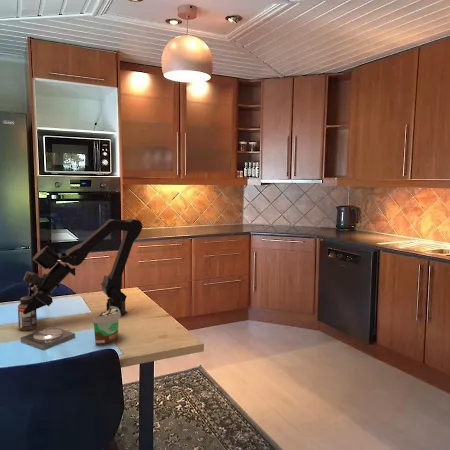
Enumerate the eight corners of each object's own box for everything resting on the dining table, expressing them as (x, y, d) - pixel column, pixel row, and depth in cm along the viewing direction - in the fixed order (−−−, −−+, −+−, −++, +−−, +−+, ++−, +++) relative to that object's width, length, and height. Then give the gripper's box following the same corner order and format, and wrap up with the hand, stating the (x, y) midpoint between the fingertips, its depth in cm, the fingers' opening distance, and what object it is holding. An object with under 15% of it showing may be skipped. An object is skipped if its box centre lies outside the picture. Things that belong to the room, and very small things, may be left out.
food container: (110, 348, 131) (110, 318, 130) (93, 346, 132) (92, 316, 131) (127, 334, 143) (127, 306, 142) (111, 332, 144) (110, 305, 143)
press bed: (52, 330, 145) (52, 325, 145) (75, 337, 139) (75, 332, 139) (20, 341, 135) (20, 336, 135) (43, 350, 129) (43, 344, 129)
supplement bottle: (22, 325, 150) (21, 295, 148) (39, 325, 150) (38, 295, 149) (15, 331, 144) (14, 300, 142) (33, 331, 144) (32, 300, 143)
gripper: (34, 258, 154) (2, 291, 150) (40, 268, 138) (5, 305, 134) (57, 276, 159) (27, 308, 155) (66, 288, 143) (33, 323, 139)
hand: (22, 311), depth 145 cm, fingers closed on supplement bottle, 6 cm apart
